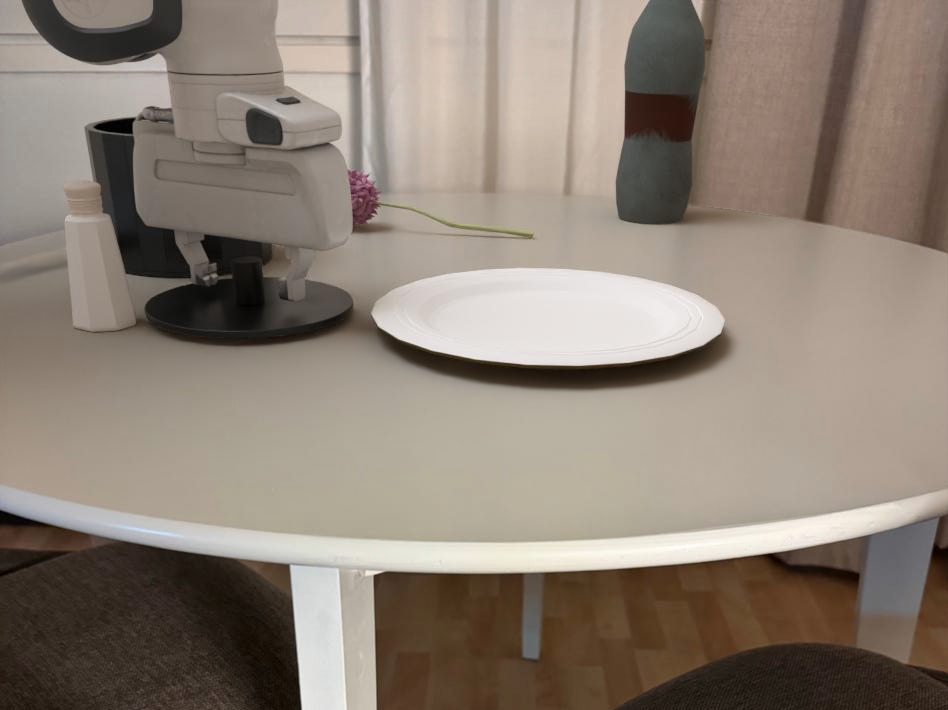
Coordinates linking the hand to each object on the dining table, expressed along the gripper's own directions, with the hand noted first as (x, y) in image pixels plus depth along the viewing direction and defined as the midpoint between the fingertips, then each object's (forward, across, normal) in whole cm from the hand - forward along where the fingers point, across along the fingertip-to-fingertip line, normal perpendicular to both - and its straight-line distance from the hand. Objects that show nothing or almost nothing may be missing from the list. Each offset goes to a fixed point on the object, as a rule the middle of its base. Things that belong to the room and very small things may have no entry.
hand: (248, 292), depth 91 cm
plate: (+2, +24, +9) cm, 26 cm away
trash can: (+2, -19, +14) cm, 24 cm away
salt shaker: (+2, -9, -8) cm, 12 cm away
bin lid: (+1, 0, 0) cm, 1 cm away
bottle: (+2, +14, +60) cm, 62 cm away
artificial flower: (+2, -5, +38) cm, 38 cm away
